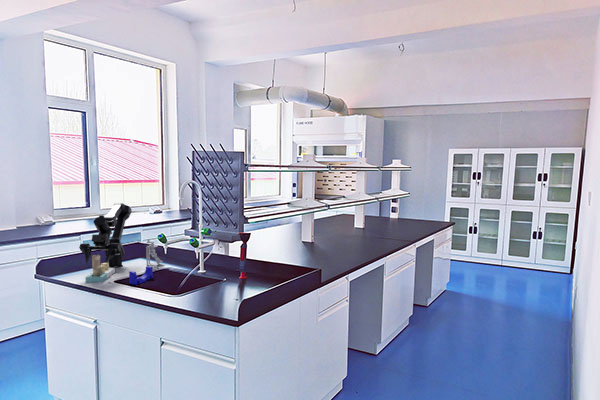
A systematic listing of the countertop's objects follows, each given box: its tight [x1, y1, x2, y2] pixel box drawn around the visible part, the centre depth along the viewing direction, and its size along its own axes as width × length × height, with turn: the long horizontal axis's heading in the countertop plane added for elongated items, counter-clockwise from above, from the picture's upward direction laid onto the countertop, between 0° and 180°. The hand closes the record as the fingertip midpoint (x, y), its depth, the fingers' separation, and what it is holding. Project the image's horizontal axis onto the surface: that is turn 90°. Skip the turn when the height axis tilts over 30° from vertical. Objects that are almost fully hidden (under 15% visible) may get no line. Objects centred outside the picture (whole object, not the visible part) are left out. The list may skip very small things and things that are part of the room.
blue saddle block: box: [128, 265, 154, 285], centre depth 199 cm, size 12×4×6 cm, turn 154°
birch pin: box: [91, 254, 101, 277], centre depth 199 cm, size 4×4×12 cm
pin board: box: [84, 262, 116, 283], centre depth 204 cm, size 17×8×6 cm, turn 6°
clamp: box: [145, 238, 164, 267], centre depth 229 cm, size 4×10×15 cm, turn 89°
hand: (96, 262), depth 198 cm, fingers open, 9 cm apart
